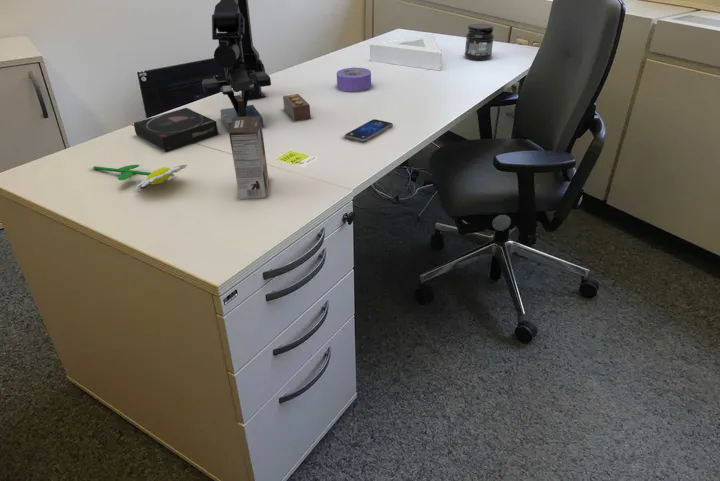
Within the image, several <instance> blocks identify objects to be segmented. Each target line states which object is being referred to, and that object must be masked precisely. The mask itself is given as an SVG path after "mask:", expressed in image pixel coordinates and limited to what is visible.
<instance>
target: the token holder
mask: <svg viewBox="0 0 720 481" xmlns="http://www.w3.org/2000/svg"><path fill="white" fill-rule="evenodd" d="M282 100H283V102H282V103H283V111H284V112H285V113H286V114H287V115H288V116H289V117H290V118H291V119H292V120H293V121H294V122H298V121H306V120H310V119H311V105H310V103H308V102H307V101H306V100H305V99H304V98H303V97H302V95H301V94H299V93H296V94H295V93H294V94H289V95H283V96H282Z"/></svg>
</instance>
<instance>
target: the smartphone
mask: <svg viewBox="0 0 720 481" xmlns="http://www.w3.org/2000/svg"><path fill="white" fill-rule="evenodd" d="M393 126H394V124H393V122H390V121H386V120H381V119H377V118H376V119H375V118H373V119H371V120H369V121H367V122H365V123H364V124H362V125H360V126H357V127H356V128H354V129H353V130H351V131H348V132H347V133H345V134H344V138H345V139H348V140H351V141H356V142H359V143H366V142H368V141H370V140H372V139H373V138H375V137H376V136H378V135H380V134H382V133H383V132H385V131H387V130H388V129H390V128H392V127H393Z"/></svg>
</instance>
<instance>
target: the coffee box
mask: <svg viewBox="0 0 720 481" xmlns="http://www.w3.org/2000/svg"><path fill="white" fill-rule="evenodd" d="M228 136H229V142H230V147H231V148H230V149H231V155H232V162H233V167H234V173H235V179H236V186H237V192H238V198H239V199H240V200H247V199H265V198H267V197H268V189H269V180H270V177H269V170H268V164H267V163H268V162H267V156H266V155H267V154H266V148H265V141H264V133H263V127H262V125H261V117H260V116H258V117H233V118H232V122H231V126H230V130H229V131H228Z"/></svg>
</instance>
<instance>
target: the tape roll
mask: <svg viewBox="0 0 720 481" xmlns="http://www.w3.org/2000/svg"><path fill="white" fill-rule="evenodd" d="M371 87H372V71H371V70H370V69H369V68H366V67H365V68H364V67H347V68H342V69H340V70H339V69H338V70H337V71H336V88H337V89H338V90H339V91H342V92H348V93H357V92H363V91H368V90H369V89H370V88H371Z"/></svg>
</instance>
